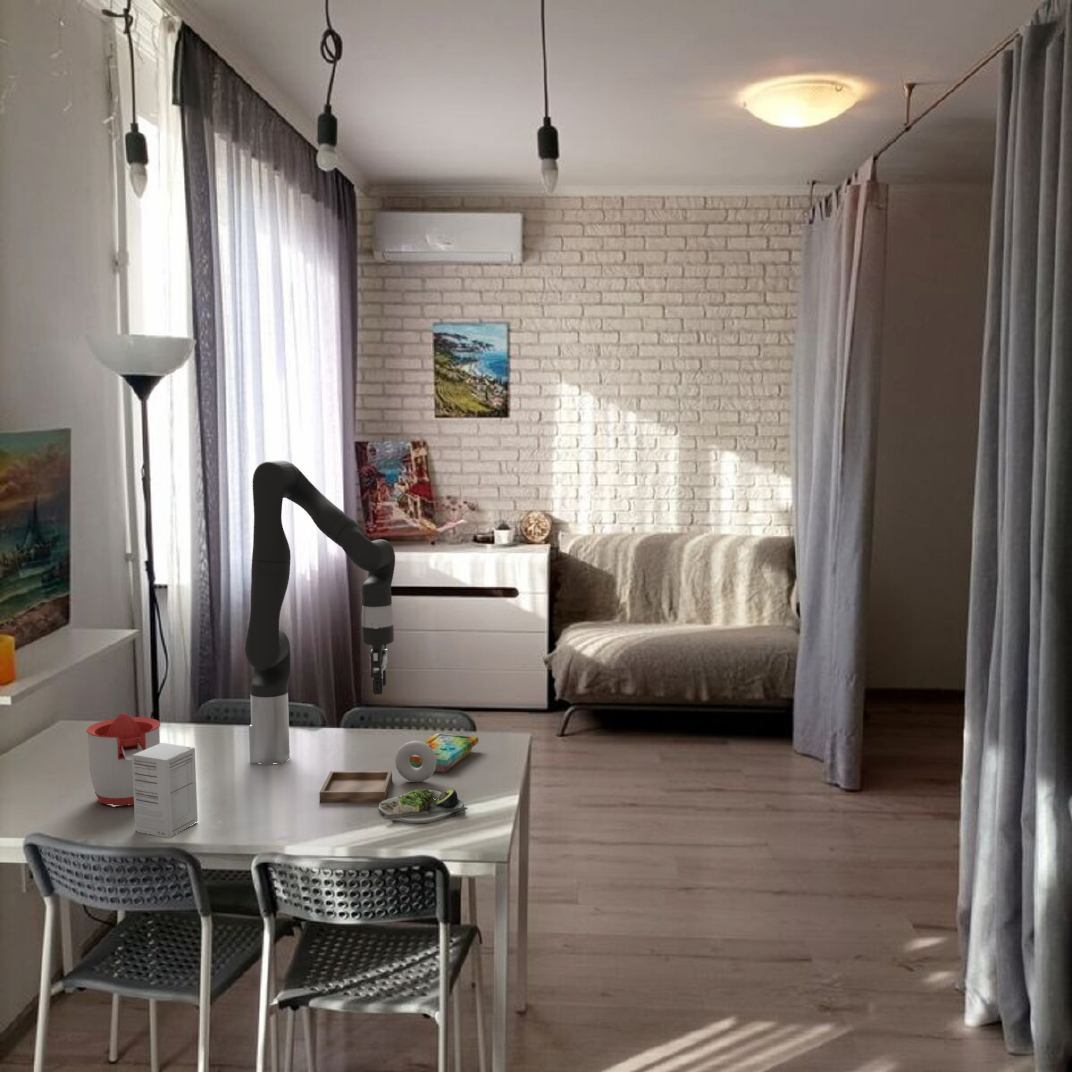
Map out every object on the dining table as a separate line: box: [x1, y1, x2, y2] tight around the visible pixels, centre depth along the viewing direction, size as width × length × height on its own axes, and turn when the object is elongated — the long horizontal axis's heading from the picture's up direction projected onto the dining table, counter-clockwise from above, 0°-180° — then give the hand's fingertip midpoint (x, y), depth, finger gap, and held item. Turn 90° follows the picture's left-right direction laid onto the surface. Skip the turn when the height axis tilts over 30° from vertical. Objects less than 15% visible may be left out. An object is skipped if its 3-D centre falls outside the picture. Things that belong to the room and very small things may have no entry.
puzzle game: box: [409, 732, 479, 772], centre depth 288 cm, size 12×5×20 cm
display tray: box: [319, 770, 393, 804], centre depth 264 cm, size 15×15×2 cm
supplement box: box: [132, 742, 199, 839], centre depth 241 cm, size 10×9×17 cm
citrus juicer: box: [86, 712, 161, 806], centre depth 257 cm, size 16×17×20 cm
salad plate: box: [377, 788, 469, 824], centre depth 251 cm, size 19×18×5 cm
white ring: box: [394, 740, 437, 783], centre depth 270 cm, size 10×4×10 cm, turn 80°
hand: (379, 689), depth 276 cm, fingers open, 8 cm apart
